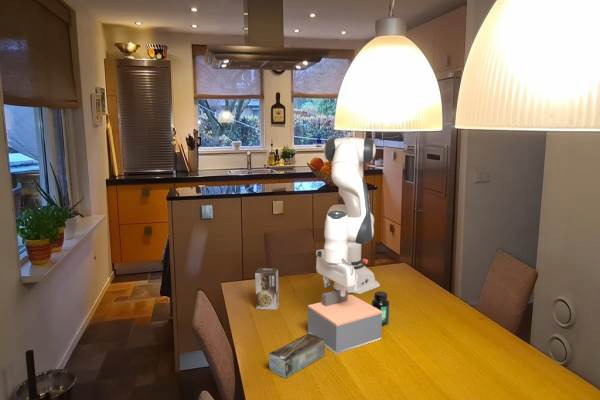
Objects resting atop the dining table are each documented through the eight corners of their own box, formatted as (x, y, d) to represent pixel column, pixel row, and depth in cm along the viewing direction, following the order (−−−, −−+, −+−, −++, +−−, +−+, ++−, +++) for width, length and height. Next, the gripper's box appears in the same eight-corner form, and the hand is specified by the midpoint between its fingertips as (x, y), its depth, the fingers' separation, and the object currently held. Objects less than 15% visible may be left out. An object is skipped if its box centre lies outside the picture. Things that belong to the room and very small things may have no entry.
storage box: (350, 320, 176) (351, 296, 174) (381, 339, 161) (382, 313, 159) (307, 332, 166) (307, 307, 164) (336, 354, 151) (336, 326, 149)
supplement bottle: (387, 327, 170) (388, 297, 168) (369, 324, 173) (370, 295, 170) (389, 320, 177) (391, 291, 175) (372, 317, 179) (373, 289, 177)
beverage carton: (267, 369, 142) (267, 350, 141) (308, 348, 155) (308, 330, 154) (285, 379, 136) (285, 360, 135) (326, 356, 150) (326, 338, 149)
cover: (351, 296, 174) (351, 284, 173) (382, 313, 159) (382, 300, 158) (307, 307, 164) (308, 295, 163) (336, 326, 149) (336, 313, 148)
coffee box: (279, 304, 192) (279, 268, 189) (276, 310, 186) (276, 273, 183) (258, 303, 193) (257, 267, 190) (255, 309, 187) (254, 272, 184)
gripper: (360, 262, 156) (358, 299, 158) (327, 247, 173) (326, 281, 176) (345, 264, 153) (344, 302, 155) (313, 249, 170) (312, 284, 172)
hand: (334, 291), depth 165 cm, fingers open, 8 cm apart
